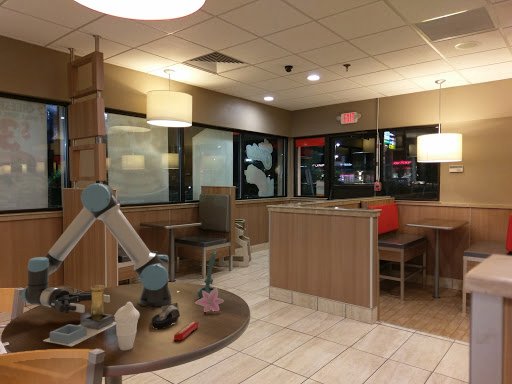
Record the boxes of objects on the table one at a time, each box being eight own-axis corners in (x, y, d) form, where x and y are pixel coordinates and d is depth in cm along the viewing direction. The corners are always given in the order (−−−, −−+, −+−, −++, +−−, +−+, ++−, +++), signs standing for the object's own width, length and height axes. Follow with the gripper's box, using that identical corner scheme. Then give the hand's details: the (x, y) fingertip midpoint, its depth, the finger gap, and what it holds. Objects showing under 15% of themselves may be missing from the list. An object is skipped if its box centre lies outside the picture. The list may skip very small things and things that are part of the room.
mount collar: (96, 319, 149) (96, 312, 149) (113, 322, 146) (113, 315, 146) (80, 326, 141) (80, 319, 141) (98, 329, 138) (98, 322, 138)
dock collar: (68, 332, 135) (68, 324, 135) (86, 335, 133) (87, 327, 133) (49, 340, 127) (49, 332, 127) (68, 344, 125) (68, 335, 125)
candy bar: (191, 326, 147) (191, 319, 147) (199, 327, 146) (199, 320, 146) (171, 342, 131) (171, 334, 131) (180, 343, 130) (180, 335, 130)
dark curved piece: (207, 308, 174) (226, 259, 175) (188, 299, 176) (207, 250, 177) (215, 302, 188) (232, 257, 189) (197, 294, 190) (215, 249, 191)
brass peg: (105, 321, 147) (105, 284, 147) (103, 326, 141) (103, 288, 141) (91, 322, 145) (92, 285, 145) (88, 327, 140) (89, 288, 140)
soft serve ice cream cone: (107, 350, 123) (108, 303, 123) (124, 341, 131) (125, 296, 131) (127, 354, 120) (128, 306, 120) (144, 345, 128) (144, 299, 128)
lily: (191, 315, 163) (194, 299, 158) (201, 298, 173) (204, 282, 169) (215, 325, 161) (219, 309, 157) (224, 307, 171) (228, 292, 167)
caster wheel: (154, 336, 142) (153, 323, 151) (182, 327, 145) (180, 315, 154) (150, 321, 141) (149, 309, 150) (179, 312, 144) (177, 301, 153)
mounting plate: (93, 320, 150) (93, 318, 150) (119, 325, 146) (119, 322, 146) (42, 343, 127) (42, 340, 127) (71, 349, 123) (71, 346, 123)
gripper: (79, 298, 162) (118, 304, 155) (27, 316, 138) (71, 324, 131) (79, 281, 162) (118, 286, 155) (28, 296, 138) (72, 303, 131)
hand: (97, 303), depth 143 cm, fingers open, 13 cm apart
